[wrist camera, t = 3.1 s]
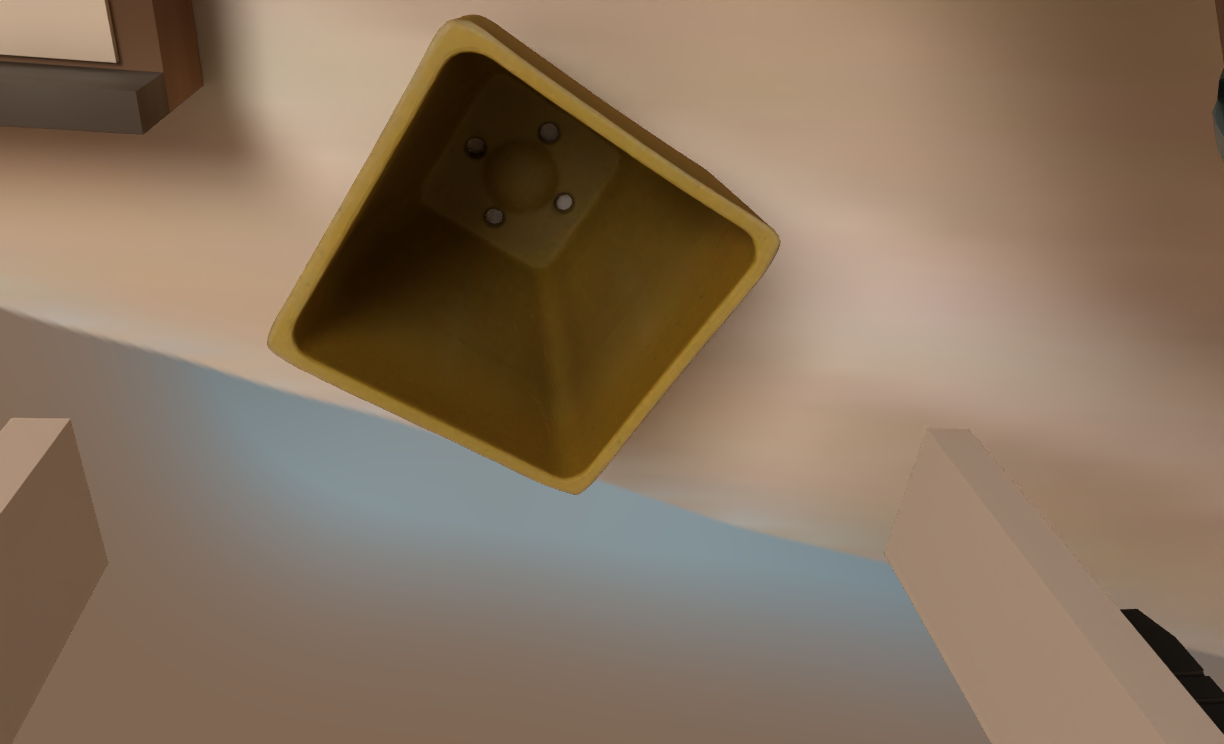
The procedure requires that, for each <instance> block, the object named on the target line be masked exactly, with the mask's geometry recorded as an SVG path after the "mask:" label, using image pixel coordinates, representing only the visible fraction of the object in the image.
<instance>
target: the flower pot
mask: <svg viewBox="0 0 1224 744" xmlns="http://www.w3.org/2000/svg"><path fill="white" fill-rule="evenodd" d="M546 123H551V124H554V125H555V126H556V128H557V130H558V135H557V137H556V138H555V139H554V140H553V141H544V140H543V139H542V138H541V137H540V134H539V132H540V128H541V127H542V126H543V125H544V124H546ZM473 138H479V139H481V140H482V141H483V142H484V144H485V151H484V153H483V154H482V155H479V156H475V155H471V154H470V153H469V152H468V150H467V143H468V141H469V140H471V139H473ZM560 194H568V195H569V196H571V198H572V205H571V206H570V207H569V208H568V209H566V210H560V209H558V208H557V207H556V205H555V199H556V197H557V196H558V195H560ZM491 208H495V209H499V210H500V211H501V212H502V215H503V218H502V221H501V222H499V223H498V224H490V223H489V222H487V220H486V219H485V213H486V212H487V210H489V209H491ZM780 242H781V241H780V239H779V236H778V234H777V233H776V232H775V230H774V229H773V228H771V227H770V226H769V225H768V224H767V223H766V222H764V221H763V220H762V219H761V218H760V217H759V216H758V215H757V214H755V213H754V212H753V211H752V210H751V209H750V208H749V207H748V206H747V205H746V204H745V203H743V202H742V201H741V200H740V199H739V198H738V197H737V196H735V195H734V194H733V193H732V192H731V191H730V190H729V189H728V188H726V187H725V186H724V185H723V184H722V183H721V182H720V181H718V180H717V179H716V178H715V177H714V176H713V175H712V174H710V173H709V172H708V171H707V170H706V169H704V168H703V167H701V166H700V165H698V164H697V163H695V162H693V161H692V160H690V159H689V158H687V157H686V156H684V155H683V154H681V153H680V152H678V151H677V150H675V149H674V148H672V147H671V146H669V145H668V144H666V143H665V142H663V141H662V140H660V139H659V138H657V137H656V136H654V135H653V134H651V133H650V132H648V131H647V130H645V129H644V128H642V127H641V126H639V125H638V124H637V123H635V122H634V121H632V120H631V119H629V118H628V117H626V116H625V115H623V114H622V113H620V112H619V111H617V110H616V109H614V108H613V107H611V106H610V105H608V104H607V103H606V102H604V101H603V100H601V99H600V98H599V97H597V96H596V95H594V94H593V93H592V92H590V91H589V90H587V89H586V88H585V87H583V86H582V85H580V84H579V83H578V82H576V81H575V80H573V79H572V78H571V77H569V76H568V75H566V74H565V73H564V72H562V71H561V70H559V69H558V68H557V67H555V66H554V65H552V64H551V63H550V62H548V61H547V60H545V59H544V58H543V57H541V56H540V55H538V54H537V53H536V52H534V51H533V50H531V49H530V48H529V47H527V46H526V45H524V44H523V43H522V42H520V41H519V40H518V39H516V38H515V37H513V36H512V35H511V34H509V33H508V32H507V31H505V30H504V29H502V28H501V27H500V26H498V25H497V24H496V23H494V22H492V21H491V20H489V19H487V18H485V17H483V16H480V15H467V16H463V17H460V18H457V19H454V20H450V21H448V22H446V23H445V24H444V25H443V26H442V27H441V28H440V29H439V31H438V32H437V34H436V35H435V37H434V38H433V40H432V42H431V44H430V46H429V48H428V49H427V51H426V53H425V55H424V57H423V59H422V61H421V63H420V65H419V66H418V68H417V70H416V72H415V74H414V76H413V78H412V79H411V81H410V83H409V85H408V87H407V89H406V90H405V92H404V94H403V96H402V98H401V99H400V101H399V103H398V105H397V107H396V108H395V110H394V112H393V114H392V115H391V117H390V119H389V121H388V123H387V125H386V126H385V128H384V130H383V132H382V134H381V136H380V137H379V139H378V141H377V143H376V145H375V147H374V148H373V150H372V152H371V154H370V156H369V157H368V159H367V161H366V162H365V164H364V166H363V168H362V169H361V171H360V173H359V174H358V176H357V178H356V180H355V181H354V183H353V185H352V187H351V189H350V190H349V192H348V194H347V196H346V197H345V199H344V201H343V203H342V204H341V206H340V208H339V210H338V211H337V213H336V215H335V217H334V218H333V220H332V222H331V224H330V225H329V227H328V229H327V231H326V232H325V234H324V236H323V238H322V240H321V241H320V243H319V245H318V246H317V248H316V250H315V252H314V253H313V255H312V257H311V259H310V260H309V262H308V264H307V266H306V268H305V269H304V271H303V273H302V275H301V276H300V278H299V280H298V281H297V283H296V285H295V287H294V289H293V290H292V292H291V294H290V295H289V297H288V299H287V301H286V302H285V304H284V306H283V307H282V309H281V310H280V312H279V314H278V316H277V317H276V319H275V321H274V323H273V325H272V327H271V330H270V332H269V335H268V341H267V345H268V348H269V349H270V350H271V351H272V352H273V353H275V354H276V355H277V356H279V357H280V358H282V359H283V360H285V361H286V362H288V363H290V364H292V365H293V366H295V367H297V368H299V369H301V370H303V371H305V372H308V373H310V374H312V375H314V376H316V377H318V378H319V379H321V380H323V381H325V382H328V383H330V384H332V385H334V386H336V387H338V388H340V389H342V390H344V391H346V392H348V393H350V394H352V395H354V396H357V397H359V398H361V399H363V400H365V401H368V402H370V403H372V404H374V405H376V406H379V407H381V408H383V409H385V410H387V411H389V412H391V413H393V414H395V415H398V416H400V417H402V418H404V419H406V420H408V421H410V422H412V423H414V424H416V425H418V426H420V427H423V428H425V429H427V430H429V431H432V432H434V433H436V434H438V435H441V436H443V437H445V438H447V439H449V440H451V441H453V442H455V443H458V444H460V445H462V446H464V447H466V448H468V449H470V450H472V451H474V452H476V453H478V454H480V455H482V456H484V457H487V458H489V459H491V460H493V461H496V462H498V463H500V464H502V465H503V466H505V467H507V468H509V469H511V470H514V471H515V472H517V473H519V474H521V475H523V476H526V477H528V478H530V479H532V480H534V481H537V482H539V483H541V484H544V485H546V486H549V487H552V488H555V489H558V490H560V491H563V492H567V493H570V494H574V495H577V494H580V493H581V492H583V491H584V490H585V489H586V488H588V487H589V486H590V485H591V484H592V483H593V482H594V481H595V480H596V478H597V477H598V476H599V475H600V474H601V473H602V471H603V470H604V469H605V468H606V467H607V465H608V464H609V463H610V461H611V460H612V459H613V458H614V457H615V456H616V454H617V453H618V452H619V450H620V449H621V448H622V446H623V445H624V444H625V443H626V441H627V440H628V439H629V437H630V436H631V435H632V433H633V432H634V431H635V430H636V429H637V427H638V426H639V425H640V424H641V423H642V421H643V420H644V419H645V418H646V417H647V415H648V414H649V413H650V411H651V410H652V409H653V408H654V406H655V405H656V404H657V403H658V401H659V400H660V399H661V398H662V396H663V395H664V394H665V393H666V391H667V390H668V389H669V388H670V386H671V385H672V384H673V383H674V381H675V380H676V379H677V378H678V377H679V376H680V374H681V373H682V372H683V371H684V369H685V368H686V367H687V366H688V365H689V363H690V362H691V361H692V360H693V358H694V357H695V356H696V355H697V353H698V352H699V351H700V350H701V349H702V348H703V346H704V345H705V344H706V343H707V342H708V341H709V339H710V338H711V337H712V336H713V335H714V334H715V332H716V331H717V330H718V329H719V328H720V327H721V325H722V324H723V323H724V322H725V321H726V319H727V318H728V317H729V316H730V315H731V313H732V312H733V311H734V310H735V308H736V307H737V306H738V305H739V304H740V303H741V302H742V300H743V299H744V298H745V297H746V295H747V294H748V293H749V292H750V290H751V289H752V288H753V287H754V286H755V285H756V284H757V282H758V281H759V280H760V278H761V277H762V276H763V274H764V273H765V271H766V270H767V268H768V267H769V265H770V264H771V262H772V261H773V259H774V257H775V255H776V253H777V251H778V249H779V246H780Z"/></svg>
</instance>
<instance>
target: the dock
mask: <svg viewBox="0 0 1224 744" xmlns="http://www.w3.org/2000/svg"><path fill="white" fill-rule="evenodd" d="M202 86H203V80H202V73H201V66H200V58H199V51H198V44H197V37H196V30H195V22H194V15H193V8H192V1H191V0H0V126H11V127H28V128H44V129H60V130H77V131H93V132H109V133H126V134H142V135H143V134H144V133H146V132H147V131H148V130H149V129H151V128H152V127H153V126H154V125H155V124H157V123H158V122H159V121H160V120H162V119H163V118H164V117H165V116H166V115H168V114H169V113H170V112H171V111H173V110H174V109H175V108H176V107H177V106H179V105H180V104H181V103H182V102H184V101H185V100H186V99H187V98H188V97H190V96H191V95H192V94H193V93H195V92H196V91H197V90H198V89H199V88H201V87H202Z"/></svg>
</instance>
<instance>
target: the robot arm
mask: <svg viewBox="0 0 1224 744" xmlns="http://www.w3.org/2000/svg"><path fill="white" fill-rule="evenodd" d="M1215 5H1216V12H1217V19H1218V26H1219V33H1220V39H1221V46H1222V53H1223V60H1224V0H1215ZM1212 114H1213V122H1214V130H1215V136H1216V141H1217V145H1218V149H1219V152H1220V155H1221V157H1222V159H1223V161H1224V69H1223V71H1222V74H1221V77H1220V80H1219V89H1218V99H1217V102H1216V105H1215V107H1214V109H1213V112H1212ZM884 554H885V556H886V558H887V559H888V561H889V563H890V565H891V566H892V568H893V570H894V572H895V574H896V575H897V577H898V579H899V581H900V582H901V584H902V586H903V588H904V589H905V591H906V593H907V595H908V597H909V598H910V600H911V602H912V604H913V605H914V607H915V609H916V611H917V613H918V614H919V616H920V618H921V620H922V621H923V623H924V625H925V627H926V628H927V630H928V632H929V634H930V636H931V637H932V639H933V641H934V642H935V644H936V646H937V648H938V650H939V651H940V653H941V655H942V657H943V659H944V660H945V662H946V664H947V666H948V667H949V669H950V671H951V673H952V675H953V676H954V678H955V680H956V682H957V683H958V685H959V687H960V689H961V690H962V692H963V694H964V696H965V698H966V699H967V701H968V703H969V705H970V706H971V708H972V710H973V712H974V713H975V715H976V717H977V719H978V720H979V722H980V724H981V726H982V727H983V729H984V731H985V733H986V735H987V737H988V738H989V740H990V742H991V743H992V744H1224V692H1223V691H1222V690H1221V689H1220V688H1219V687H1218V686H1217V684H1216V683H1215V682H1214V681H1213V680H1212V679H1211V678H1210V676H1205V675H1204V674H1203V668H1202V667H1201V666H1200V665H1199V664H1198V663H1197V662H1196V661H1195V659H1194V658H1193V657H1192V656H1191V655H1190V654H1189V652H1188V651H1187V650H1186V649H1185V648H1184V647H1183V646H1182V644H1181V643H1180V642H1179V641H1178V640H1177V639H1176V638H1175V637H1174V636H1173V635H1172V634H1170V633H1169V632H1168V631H1166V630H1165V629H1164V628H1162V627H1161V626H1159V625H1158V624H1157V623H1155V622H1154V621H1153V620H1151V619H1150V618H1149V617H1147V616H1146V615H1145V614H1143V613H1142V612H1141V611H1139V610H1138V609H1121V610H1119V608H1118V607H1117V606H1116V605H1115V604H1114V602H1113V601H1112V600H1111V599H1110V598H1109V596H1108V595H1107V594H1106V593H1105V592H1104V590H1103V589H1102V588H1101V587H1100V586H1099V584H1098V583H1097V582H1096V581H1095V580H1094V578H1093V577H1092V576H1091V575H1090V574H1089V572H1088V571H1087V570H1086V569H1085V568H1084V566H1083V565H1082V564H1081V563H1080V562H1079V560H1078V559H1077V558H1076V557H1075V556H1074V554H1073V553H1072V552H1071V551H1070V550H1069V548H1068V547H1067V546H1066V545H1065V544H1064V542H1063V541H1062V540H1061V539H1060V538H1059V536H1058V535H1057V534H1056V533H1055V532H1054V530H1053V529H1052V528H1051V527H1050V526H1049V524H1048V523H1047V522H1046V521H1045V520H1044V518H1043V517H1042V516H1041V515H1040V514H1039V512H1038V511H1037V510H1036V509H1035V508H1034V506H1033V505H1032V504H1031V503H1030V502H1029V500H1028V499H1027V498H1026V497H1025V496H1024V494H1023V493H1022V492H1021V491H1020V490H1019V488H1018V487H1017V486H1016V485H1015V484H1014V482H1013V481H1012V480H1011V479H1010V478H1009V476H1008V475H1007V474H1006V473H1005V472H1004V470H1003V469H1002V468H1001V467H1000V466H999V464H998V463H997V462H996V461H995V460H994V458H993V457H992V456H991V455H990V454H989V452H988V451H987V450H986V449H985V448H984V446H983V445H982V444H981V443H980V442H979V440H978V439H977V438H976V437H975V436H974V434H973V433H972V432H971V431H970V430H969V429H926V432H925V435H924V438H923V441H922V444H921V447H920V450H919V453H918V456H917V459H916V462H915V465H914V468H913V471H912V473H911V476H910V479H909V482H908V485H907V488H906V491H905V494H904V497H903V500H902V503H901V506H900V509H899V512H898V514H897V517H896V520H895V523H894V526H893V529H892V532H891V535H890V538H889V541H888V544H887V547H886V550H885V553H884ZM107 565H108V559H107V556H106V552H105V548H104V544H103V541H102V537H101V533H100V529H99V525H98V522H97V518H96V514H95V510H94V506H93V503H92V499H91V495H90V491H89V487H88V484H87V480H86V476H85V472H84V469H83V465H82V461H81V457H80V453H79V450H78V446H77V442H76V438H75V434H74V431H73V427H72V423H71V420H70V419H51V418H47V419H46V418H11V419H10V420H9V422H8V423H7V424H6V425H5V426H4V428H3V429H2V430H1V431H0V744H12V743H13V741H14V739H15V737H16V735H17V733H18V731H19V730H20V728H21V726H22V724H23V722H24V720H25V718H26V716H27V715H28V713H29V711H30V709H31V707H32V705H33V703H34V701H35V700H36V698H37V696H38V694H39V692H40V690H41V688H42V686H43V685H44V683H45V681H46V679H47V677H48V675H49V673H50V671H51V670H52V667H53V666H54V664H55V662H56V660H57V658H58V656H59V655H60V653H61V651H62V649H63V647H64V645H65V643H66V641H67V640H68V638H69V636H70V634H71V632H72V630H73V628H74V626H75V625H76V623H77V621H78V619H79V617H80V615H81V613H82V611H83V610H84V608H85V606H86V604H87V602H88V600H89V598H90V597H91V595H92V593H93V591H94V589H95V587H96V585H97V583H98V582H99V580H100V578H101V576H102V574H103V572H104V570H105V568H106V567H107Z"/></svg>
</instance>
